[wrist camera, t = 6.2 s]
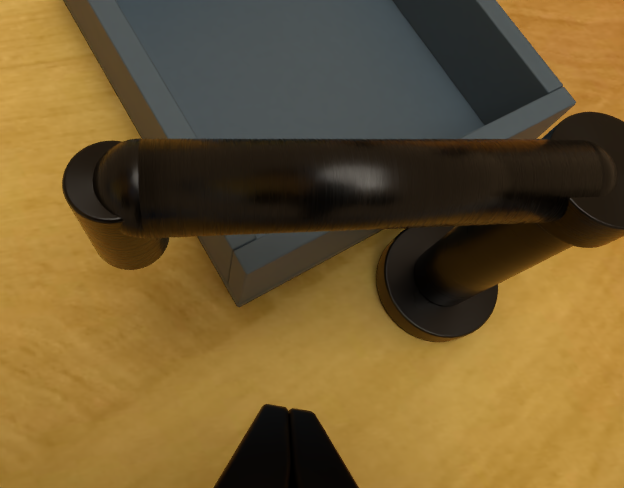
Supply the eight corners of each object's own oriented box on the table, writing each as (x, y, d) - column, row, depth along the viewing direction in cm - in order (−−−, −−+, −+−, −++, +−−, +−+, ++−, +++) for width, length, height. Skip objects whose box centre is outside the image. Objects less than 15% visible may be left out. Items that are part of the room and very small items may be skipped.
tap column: (499, 331, 19) (674, 271, 12) (392, 352, 18) (513, 300, 11) (466, 224, 21) (605, 112, 13) (363, 237, 20) (455, 124, 12)
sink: (514, 158, 22) (577, 102, 18) (237, 308, 18) (246, 274, 14) (337, -80, 25) (361, -170, 21) (61, -4, 21) (28, -101, 17)
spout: (559, 173, 14) (654, 103, 11) (588, 268, 13) (699, 220, 10) (95, 180, 12) (57, 92, 9) (93, 299, 11) (48, 248, 8)
